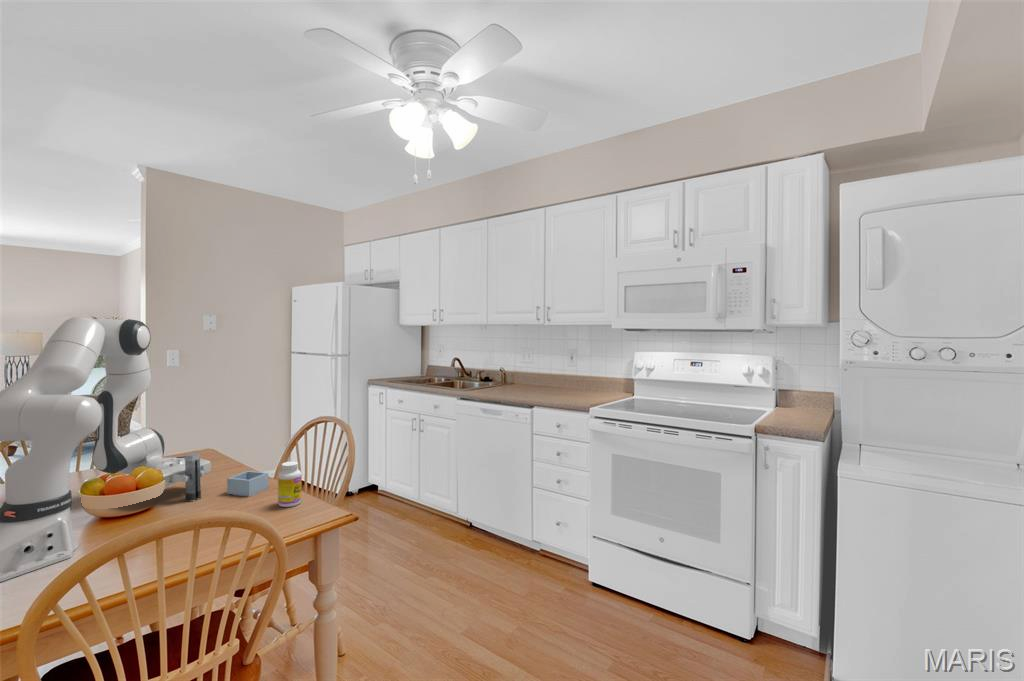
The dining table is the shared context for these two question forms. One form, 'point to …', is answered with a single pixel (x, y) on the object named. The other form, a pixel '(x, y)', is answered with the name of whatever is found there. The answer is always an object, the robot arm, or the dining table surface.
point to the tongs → (192, 476)
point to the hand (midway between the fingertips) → (194, 476)
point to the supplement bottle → (289, 485)
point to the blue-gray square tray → (247, 483)
